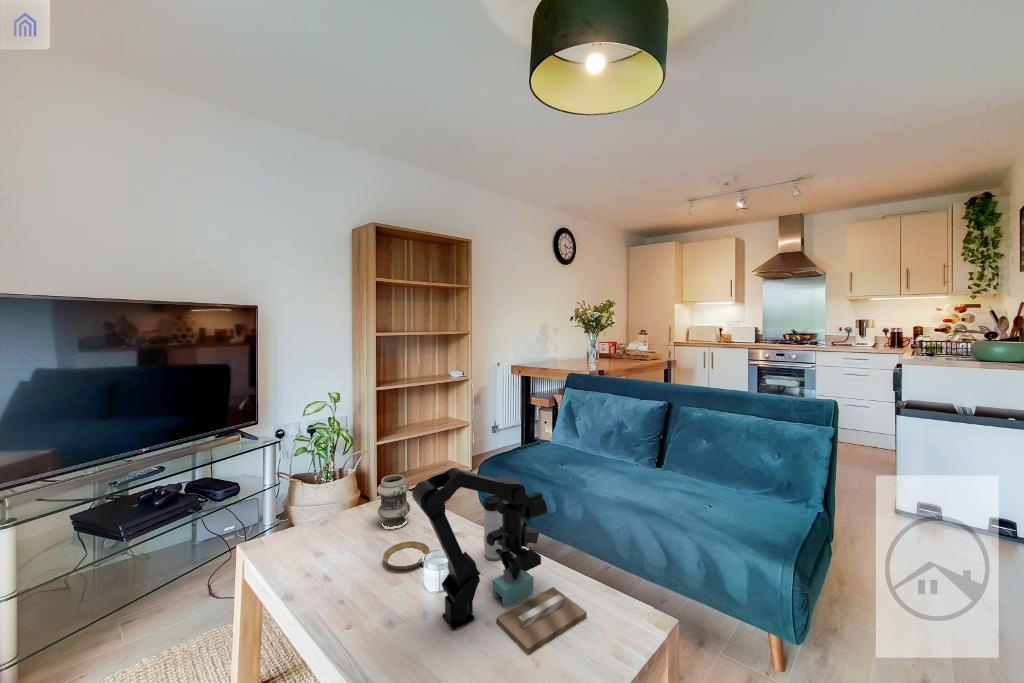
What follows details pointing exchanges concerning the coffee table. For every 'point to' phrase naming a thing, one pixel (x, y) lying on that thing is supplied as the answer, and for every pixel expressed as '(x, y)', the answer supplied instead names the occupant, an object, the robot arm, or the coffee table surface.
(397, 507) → the apothecary jar
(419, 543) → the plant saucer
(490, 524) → the travel mug
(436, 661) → the coffee table surface
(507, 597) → the grooved box
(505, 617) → the cleat board
